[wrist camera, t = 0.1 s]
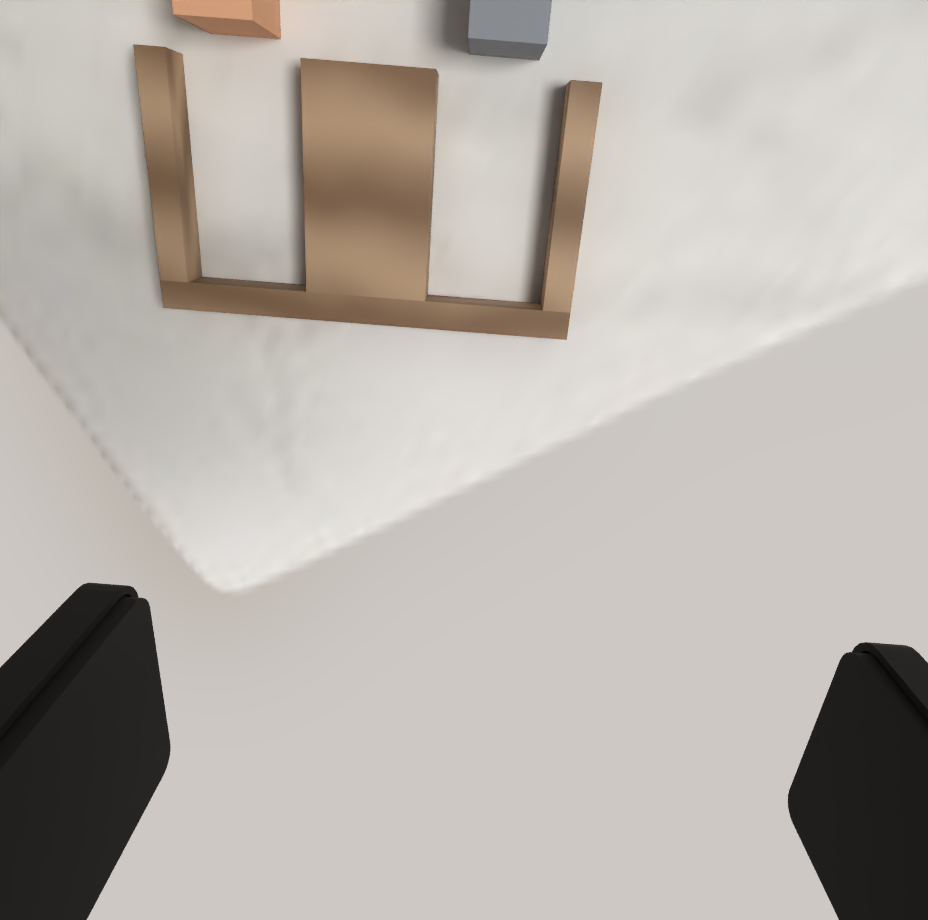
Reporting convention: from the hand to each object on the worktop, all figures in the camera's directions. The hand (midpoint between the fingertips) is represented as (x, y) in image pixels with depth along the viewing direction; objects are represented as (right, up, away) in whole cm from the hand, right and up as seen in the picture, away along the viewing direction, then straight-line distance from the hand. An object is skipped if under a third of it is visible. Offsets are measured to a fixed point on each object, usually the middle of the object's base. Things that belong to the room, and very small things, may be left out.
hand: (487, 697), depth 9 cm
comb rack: (-5, +18, +26) cm, 32 cm away
